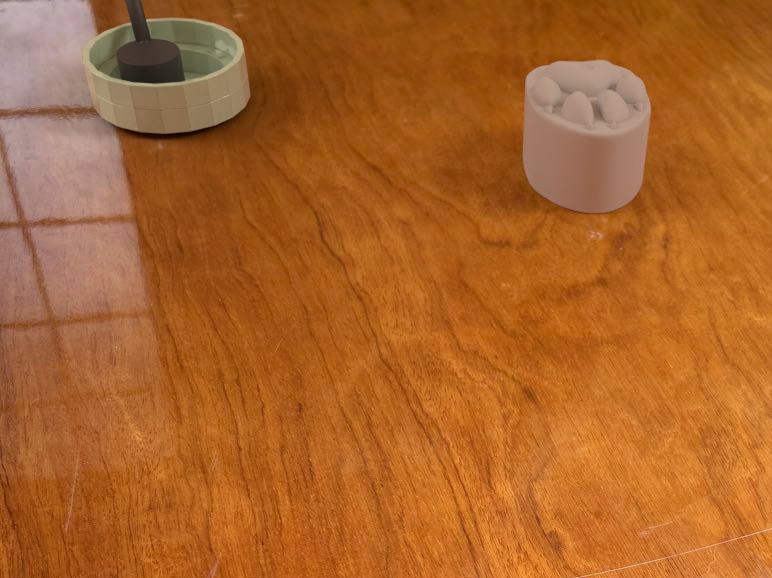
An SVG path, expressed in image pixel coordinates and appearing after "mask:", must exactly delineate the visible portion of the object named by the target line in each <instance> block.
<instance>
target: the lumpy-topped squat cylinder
mask: <svg viewBox="0 0 772 578" xmlns="http://www.w3.org/2000/svg"><path fill="white" fill-rule="evenodd" d="M524 83H525V84H524V108H523V109H524V111H523V136H522V138H523V139H522V164H523V170H524V173H525V176H526V178H527V181H528V184H529V185H530V187H531V189H532V190H534V191H535V192H536V193H538V194H539V195H540V196H542V197H543V198H545V199H547V200H548V201H549V202H551V203H553V204H555V205H557V206H559V207H562V208H565V209H568V210H571V211H574V212H579V213H583V214H593V215H594V214H605V213H611V212H614V211H616V210H619V209H621V208H623V207H624V206H626V205H628V204H629V203H631V202H632V201H633V200H634V198H635V197H636V196H637V195H638V193H639V192H640V190H641V188H642V186H643V182H644V173H645V164H646V157H647V148H648V139H649V131H650V123H651V116H652V115H651V114H652V107H651V101H650V98H649V96H648V93H647V88H646V85H645V83H644V81H643V80H642V79H641V78H640V77H639V76H637V75H636V74H634V72H633V71H631V70H630V69H628V68H626V67H623V66H621V65H620V66H619V65H616V64H614V63H612V62H610V61H608V60H606V59H596V60H585V61H576V60H575V61H574V60H573V61H571V60H570V61H569V60H557V61H554V62H552V63H550V64H546V65H545V64H544V65H541V66H537V67H536V68H533V69H532V70H530V72H529V73H528V74H527V75H526V77H525V82H524Z"/></svg>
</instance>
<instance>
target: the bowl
mask: <svg viewBox="0 0 772 578" xmlns="http://www.w3.org/2000/svg"><path fill="white" fill-rule="evenodd" d="M146 21H147V25H148V29H149V32H150V36H151V39H162V40H167V41H170V42H173V43H175V44H176V45H177V46H178V47H179V49H180V54H181V60H182V65H183V70H184V76H185V81H182V82H173V83H160V84H151V83H135V82H129V81H125V80H122V78H121V74H120V70H119V65H118V61H117V56H116V52H117V50H118V49H119V48H120V47H121V46H123V45H124V44H127V43H129V42H132V41H136V40H135V36H134V32H133V28H132V25H131V22H126V23H123V24H120V25H117V26H115V27H112V28H109V29H107V30H104V31H102V32H101V33H100V34H98V35H96V36H95V37H93V38H92V39H90V40H89V42H87V44H86V46H85V47H84V49H83V50H82V64H83V68H84V73H85V76H86V80H87V86H88V89H89V92H90V93H89V94H90V97H91V101H92V105H93V109H94V110H95V111H96V113H97V114H98V115H99V116H100V117H101V118H102V119H103V120H104V121H106V122H108V123H110V124H113V125H114V126H115V127H117V128H120V129H126V130H129V131H134V132H138V133H145V134H146V133H147V134H159V135H160V134H162V135H165V134H166V135H168V134H177V133H178V134H179V133H189V132H193V131H199V130H202V129H207V128H210V127H215V126H217V125H219V124H221V123H224V122H226V121H228V120H230V119H232V118H234V117H235V116H236V115H237V114H239V113H241V112H242V110H244V109H245V108H246V106H247V104H248V103H249V100H250V98H251V96H252V95H251V87H250V79H249V74H248V65H247V59H246V53H245V51H246V50H245V47H244V43H243V39H241V38H240V37H239V36H238V35H237V34H236V33H235V32H234V31H233V30H231V29H229V28H227V27H224V26H223V25H220V24H219V23H215V22H210V21H207V20H201V19H196V18H185V17H184V18H183V17H160V18H146Z"/></svg>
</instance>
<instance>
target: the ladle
mask: <svg viewBox="0 0 772 578" xmlns="http://www.w3.org/2000/svg"><path fill="white" fill-rule="evenodd" d="M124 2H125V6H126V9H127V13H128V17H129V21H130V23H131V25H132V28H133V32H134V36H135V40H136V41H132V42H129V43H127V44H124V45H123V46H121V47H120V48H119V49H118V50H117V52H116V56H117V61H118V65H119V70H120V74H121V78H122V80H125V81H129V82H135V83H151V84H160V83H173V82H182V81H185V76H184V70H183V65H182V60H181V54H180V49H179V47H178V46H177V45H176V44H175V43H173V42H170V41H167V40H162V39H151V36H150V32H149V29H148V25H147V21H146V19H147V17H146V13H145V11H144V7H143V3H142V0H124Z"/></svg>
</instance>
